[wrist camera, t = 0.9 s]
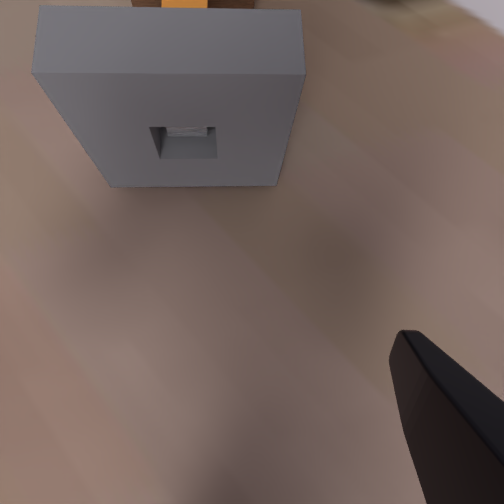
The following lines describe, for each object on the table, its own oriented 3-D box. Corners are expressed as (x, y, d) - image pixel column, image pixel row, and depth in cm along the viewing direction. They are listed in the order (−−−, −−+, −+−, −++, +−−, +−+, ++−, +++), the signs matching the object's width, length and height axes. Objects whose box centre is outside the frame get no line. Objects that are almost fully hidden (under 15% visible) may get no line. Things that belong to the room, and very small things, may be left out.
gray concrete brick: (276, 185, 25) (306, 74, 15) (110, 187, 24) (31, 72, 14) (274, 142, 25) (300, 9, 16) (113, 142, 25) (39, 5, 15)
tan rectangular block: (258, 174, 25) (276, 61, 16) (130, 175, 25) (67, 59, 15) (250, -31, 30) (260, -219, 20) (140, -33, 29) (95, -228, 19)
